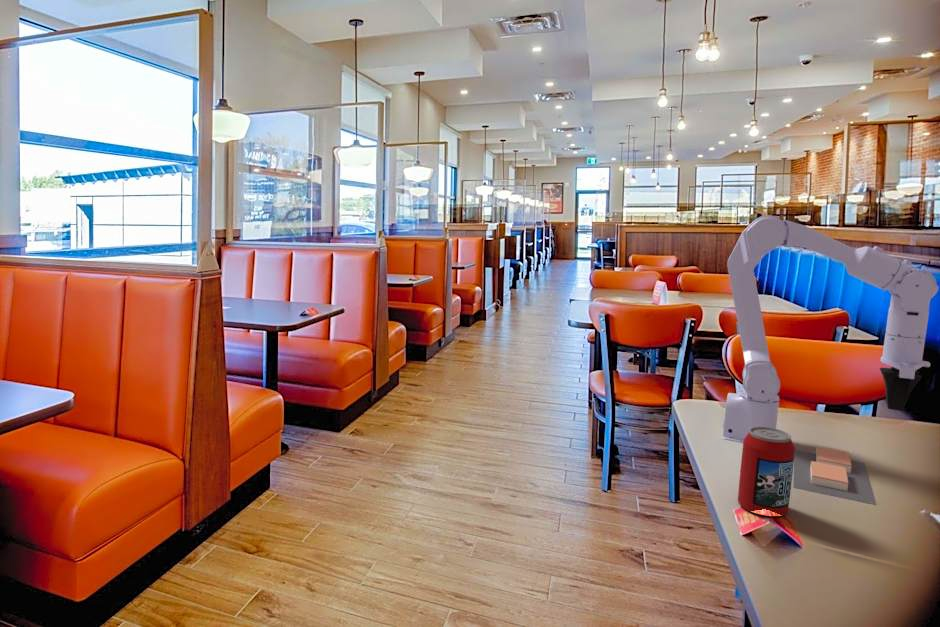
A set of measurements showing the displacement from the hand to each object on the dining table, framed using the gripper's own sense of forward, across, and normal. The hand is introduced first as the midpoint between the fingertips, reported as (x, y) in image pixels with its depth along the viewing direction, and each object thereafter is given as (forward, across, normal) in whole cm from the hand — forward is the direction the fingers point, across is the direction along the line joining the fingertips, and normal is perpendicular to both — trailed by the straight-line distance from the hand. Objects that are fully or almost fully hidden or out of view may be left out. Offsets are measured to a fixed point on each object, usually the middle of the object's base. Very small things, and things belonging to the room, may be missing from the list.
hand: (894, 409), depth 104 cm
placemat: (+10, -14, +10) cm, 20 cm away
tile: (+9, -20, +10) cm, 24 cm away
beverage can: (+10, -34, +19) cm, 40 cm away
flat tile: (+10, -8, +9) cm, 15 cm away
